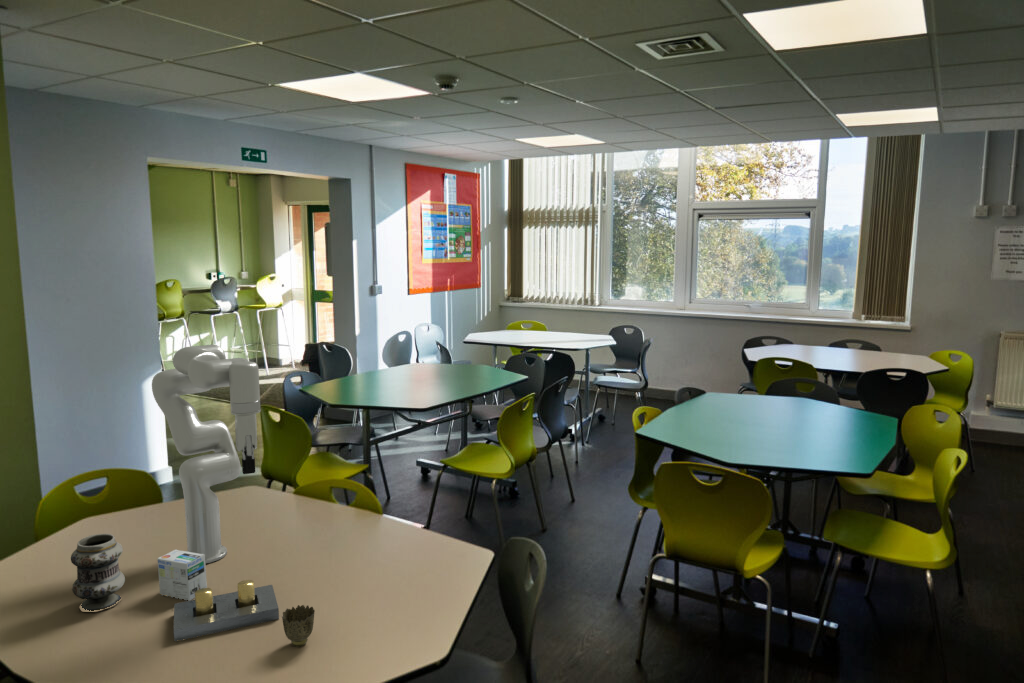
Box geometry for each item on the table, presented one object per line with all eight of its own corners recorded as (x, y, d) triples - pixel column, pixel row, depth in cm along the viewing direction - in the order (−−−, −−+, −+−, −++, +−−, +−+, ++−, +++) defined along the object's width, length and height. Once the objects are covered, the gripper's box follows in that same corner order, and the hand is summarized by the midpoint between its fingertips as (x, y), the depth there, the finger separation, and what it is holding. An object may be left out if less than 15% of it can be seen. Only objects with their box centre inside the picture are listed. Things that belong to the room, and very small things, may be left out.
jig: (175, 614, 176) (174, 603, 176) (272, 594, 186) (272, 584, 186) (174, 641, 164) (173, 630, 163) (279, 619, 174) (278, 607, 174)
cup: (287, 636, 166) (286, 605, 165) (318, 634, 167) (317, 603, 166) (279, 653, 159) (278, 621, 158) (312, 651, 159) (310, 619, 158)
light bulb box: (208, 590, 189) (206, 553, 188) (189, 602, 183) (187, 563, 182) (178, 584, 193) (175, 548, 191) (158, 595, 186) (156, 558, 185)
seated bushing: (196, 619, 174) (194, 589, 173) (213, 615, 176) (211, 586, 175) (196, 627, 170) (195, 596, 169) (214, 623, 172) (212, 593, 171)
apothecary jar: (115, 613, 177) (110, 547, 175) (65, 617, 175) (59, 550, 173) (133, 591, 189) (128, 529, 187) (86, 594, 187) (81, 531, 185)
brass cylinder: (238, 610, 178) (236, 581, 177) (254, 607, 180) (253, 578, 179) (239, 617, 175) (238, 588, 174) (256, 614, 176) (254, 585, 175)
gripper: (229, 403, 190) (232, 467, 192) (232, 414, 177) (236, 482, 179) (257, 400, 193) (260, 463, 195) (263, 411, 180) (266, 478, 182)
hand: (248, 472), depth 187 cm, fingers closed
